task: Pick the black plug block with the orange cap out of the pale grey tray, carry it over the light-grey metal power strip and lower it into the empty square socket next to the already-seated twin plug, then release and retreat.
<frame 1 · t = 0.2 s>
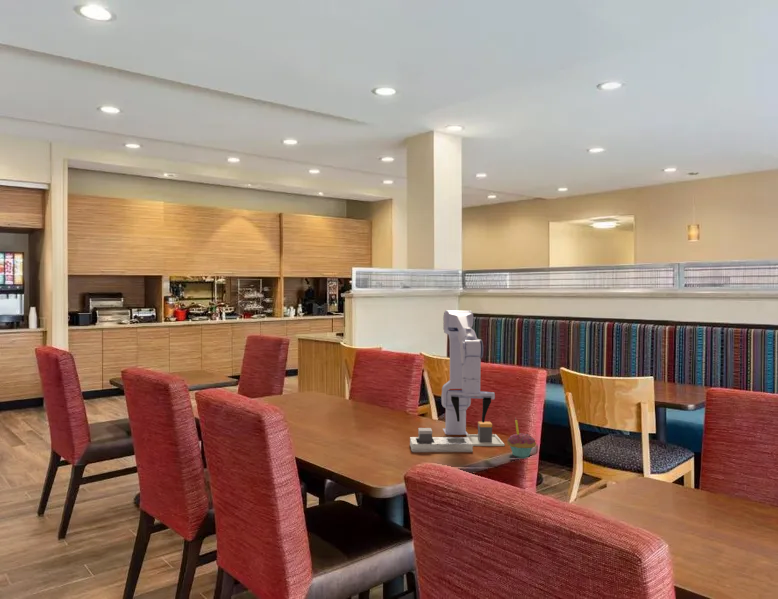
hand: (470, 421, 191), 10 cm above the table, fingers open, 7 cm apart
plug: (484, 440, 205), point 1 cm above the table, touching tray
cupcake: (521, 457, 188), on the table
tray: (484, 442, 205), on the table
pdu strip: (440, 449, 195), on the table
twin plug: (424, 448, 195), resting on pdu strip
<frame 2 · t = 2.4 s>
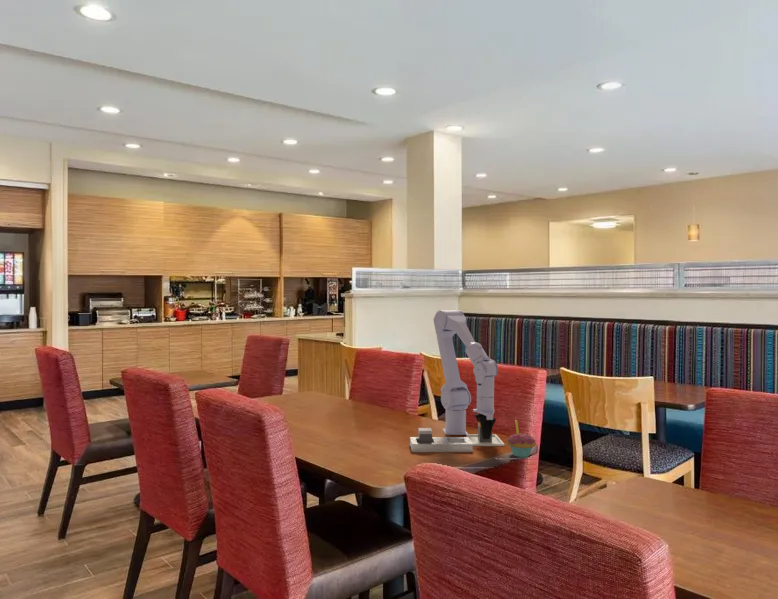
hand: (484, 436, 205), 2 cm above the table, fingers closed on plug, 4 cm apart
plug: (484, 440, 205), point 1 cm above the table, touching gripper, tray
everything else where it was.
when the fingers open (3 cm above the table, at t = 6.2 s): plug stays where it is, resting on pdu strip.
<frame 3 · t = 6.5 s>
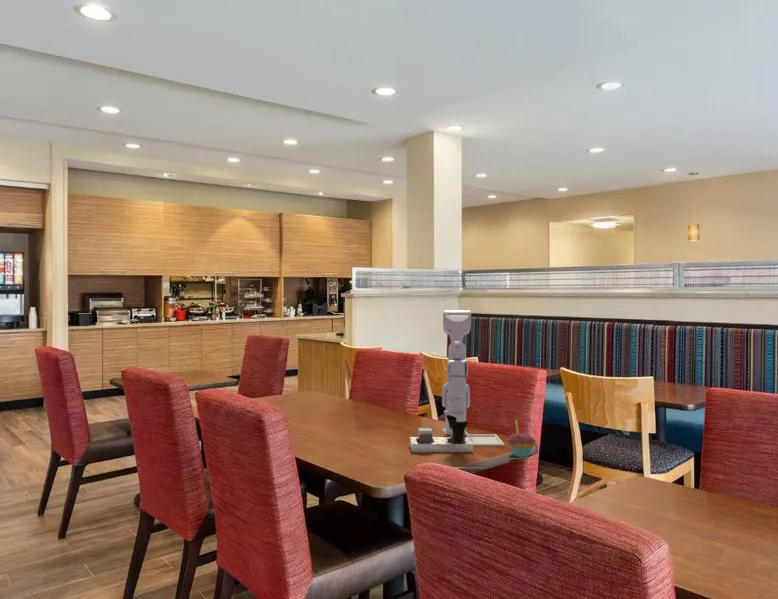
hand: (456, 439, 195), 3 cm above the table, fingers open, 7 cm apart
plug: (457, 448, 195), resting on pdu strip
everything else where it was.
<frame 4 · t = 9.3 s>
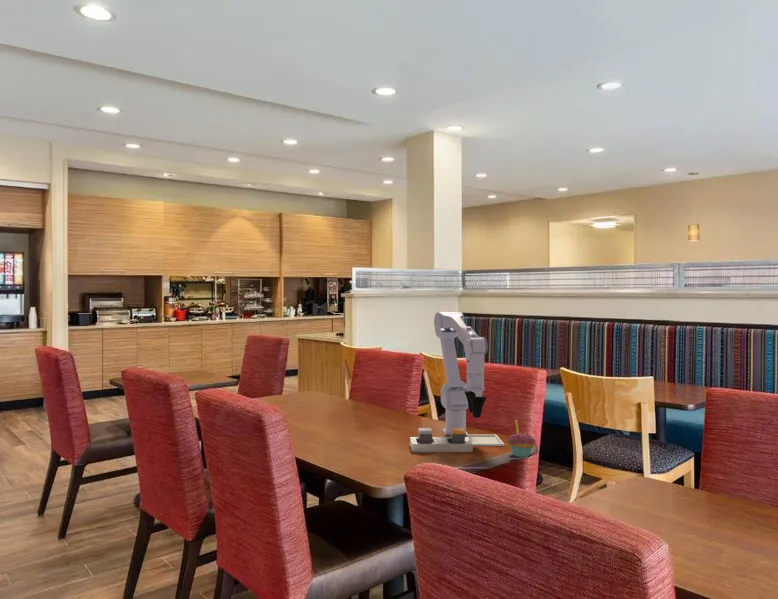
hand: (474, 414, 202), 10 cm above the table, fingers open, 7 cm apart
nothing on the table moved.
at the end: plug 0.4 cm from the target spot on the pdu strip, point 0.5 cm above the pdu strip's base; plug tilted 0°; the gripper is holding nothing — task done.
